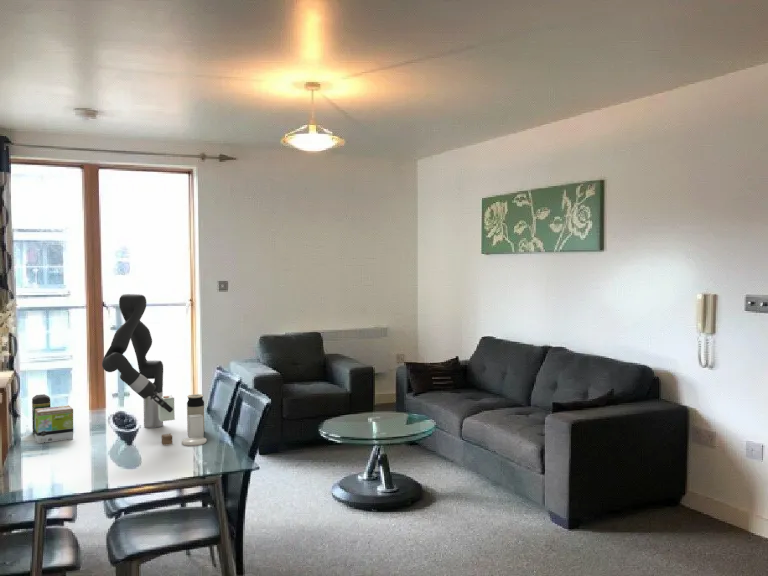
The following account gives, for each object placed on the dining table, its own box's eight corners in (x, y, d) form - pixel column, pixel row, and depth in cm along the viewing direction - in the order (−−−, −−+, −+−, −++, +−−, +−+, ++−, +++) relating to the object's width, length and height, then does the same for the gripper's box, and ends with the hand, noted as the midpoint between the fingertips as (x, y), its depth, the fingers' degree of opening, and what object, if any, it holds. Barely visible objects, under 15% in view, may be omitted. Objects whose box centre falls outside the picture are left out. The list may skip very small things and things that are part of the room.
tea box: (38, 444, 298) (37, 412, 297) (34, 439, 306) (33, 408, 305) (74, 439, 307) (73, 407, 306) (69, 435, 315) (69, 404, 314)
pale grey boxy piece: (158, 418, 298) (158, 396, 298) (172, 417, 301) (171, 394, 301) (160, 421, 293) (160, 398, 293) (174, 419, 296) (174, 397, 296)
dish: (179, 441, 300) (179, 439, 300) (203, 438, 306) (203, 435, 306) (184, 447, 291) (184, 444, 291) (209, 443, 296) (208, 441, 296)
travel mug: (194, 435, 312) (193, 397, 311) (184, 432, 316) (183, 395, 316) (208, 431, 318) (207, 395, 317) (197, 429, 323) (197, 393, 322)
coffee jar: (52, 433, 317) (51, 395, 316) (33, 436, 313) (32, 397, 312) (49, 429, 325) (49, 392, 324) (31, 432, 321) (31, 394, 320)
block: (161, 443, 298) (161, 434, 298) (170, 442, 300) (170, 433, 300) (163, 445, 295) (163, 436, 295) (172, 444, 297) (172, 435, 296)
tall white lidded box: (187, 436, 310) (187, 415, 310) (200, 434, 313) (200, 413, 313) (190, 439, 305) (190, 417, 304) (203, 437, 308) (203, 416, 307)
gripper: (150, 382, 287) (179, 406, 293) (145, 377, 299) (173, 400, 305) (138, 395, 284) (167, 419, 290) (133, 389, 297) (161, 412, 303)
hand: (170, 409), depth 298 cm, fingers closed on pale grey boxy piece, 6 cm apart
